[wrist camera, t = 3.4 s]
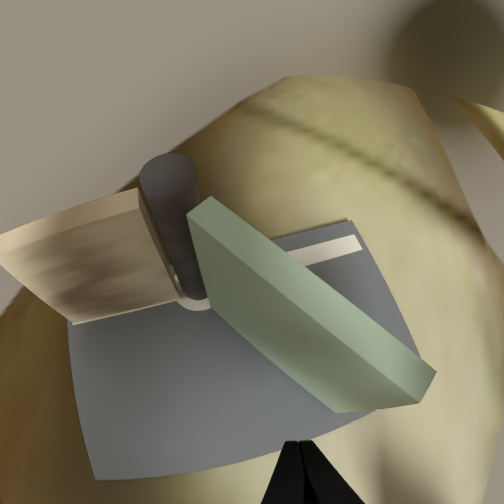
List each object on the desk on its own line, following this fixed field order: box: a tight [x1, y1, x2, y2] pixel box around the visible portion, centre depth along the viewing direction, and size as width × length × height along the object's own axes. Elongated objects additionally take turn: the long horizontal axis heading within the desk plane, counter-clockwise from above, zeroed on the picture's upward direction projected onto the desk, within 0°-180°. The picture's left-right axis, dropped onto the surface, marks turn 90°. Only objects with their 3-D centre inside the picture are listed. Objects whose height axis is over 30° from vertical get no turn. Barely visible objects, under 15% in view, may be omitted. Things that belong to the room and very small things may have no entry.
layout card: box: [67, 220, 421, 480], centre depth 17 cm, size 22×14×1 cm, turn 107°
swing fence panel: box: [186, 196, 437, 413], centre depth 13 cm, size 10×1×9 cm, turn 47°
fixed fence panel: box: [0, 153, 208, 323], centre depth 14 cm, size 10×2×10 cm, turn 107°
